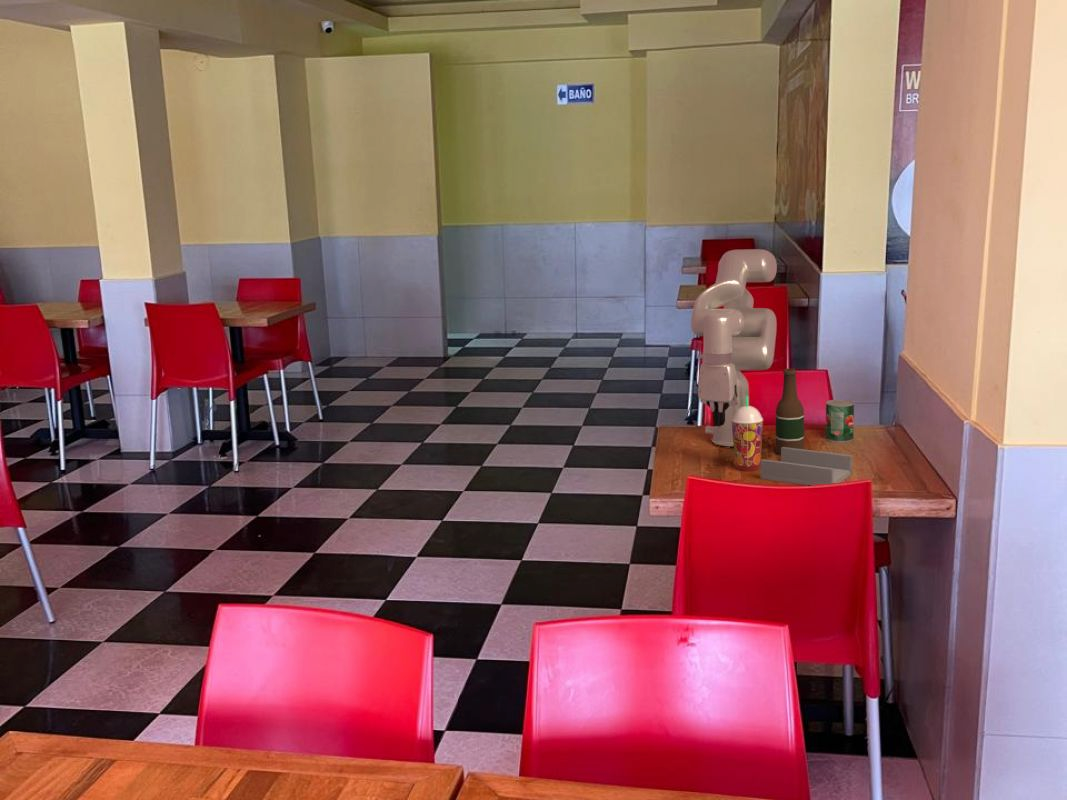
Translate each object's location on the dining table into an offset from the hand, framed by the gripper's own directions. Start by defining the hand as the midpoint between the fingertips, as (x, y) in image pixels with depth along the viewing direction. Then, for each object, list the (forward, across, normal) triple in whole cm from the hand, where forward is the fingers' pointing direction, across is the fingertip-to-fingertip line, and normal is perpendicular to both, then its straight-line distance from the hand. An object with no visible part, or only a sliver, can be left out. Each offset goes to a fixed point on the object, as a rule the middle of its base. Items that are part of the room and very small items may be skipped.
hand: (718, 425), depth 275 cm
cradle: (+11, +25, 0) cm, 27 cm away
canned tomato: (+11, +19, +39) cm, 45 cm away
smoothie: (+11, +8, 0) cm, 14 cm away
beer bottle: (+11, +12, +19) cm, 25 cm away
